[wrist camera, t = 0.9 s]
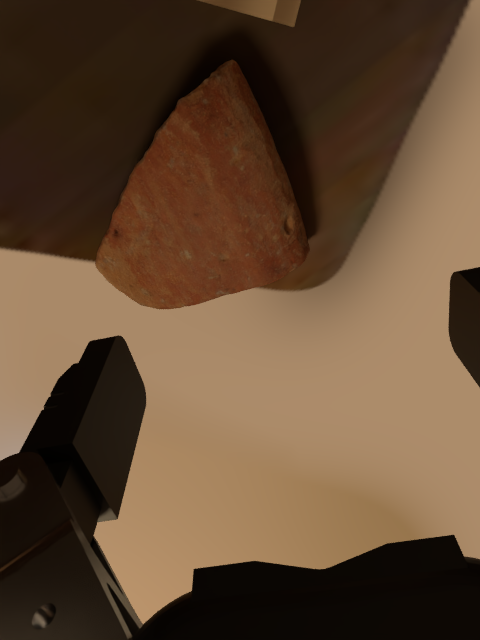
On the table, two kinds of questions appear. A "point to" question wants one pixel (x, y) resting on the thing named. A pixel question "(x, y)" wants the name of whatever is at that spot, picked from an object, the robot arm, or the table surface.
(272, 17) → the rectangular tray
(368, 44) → the table surface
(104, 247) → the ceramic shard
